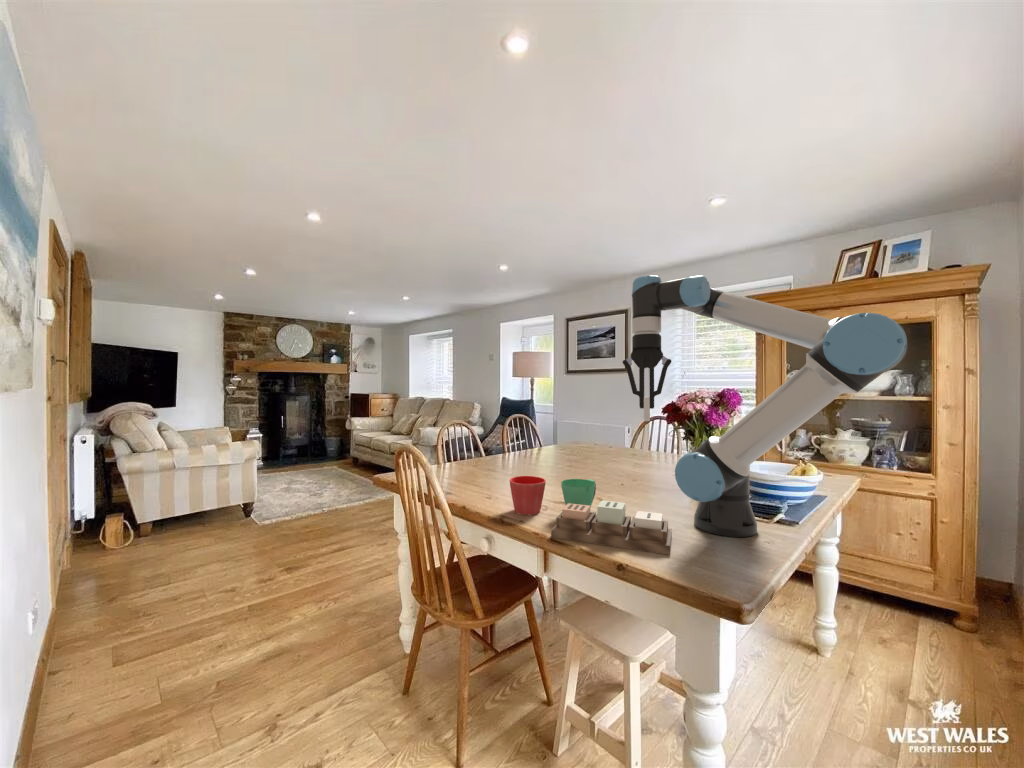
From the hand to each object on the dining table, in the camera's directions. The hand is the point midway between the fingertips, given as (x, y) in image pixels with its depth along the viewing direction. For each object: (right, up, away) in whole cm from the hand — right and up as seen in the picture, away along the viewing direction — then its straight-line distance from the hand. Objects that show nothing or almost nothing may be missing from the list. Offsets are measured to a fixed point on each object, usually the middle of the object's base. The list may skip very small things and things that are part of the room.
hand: (646, 420), depth 115 cm
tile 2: (-12, -24, -9) cm, 28 cm away
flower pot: (-32, -29, +13) cm, 45 cm away
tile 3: (-20, -26, -5) cm, 33 cm away
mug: (-16, -29, +9) cm, 34 cm away
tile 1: (-3, -26, -12) cm, 29 cm away
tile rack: (-12, -29, -9) cm, 32 cm away
